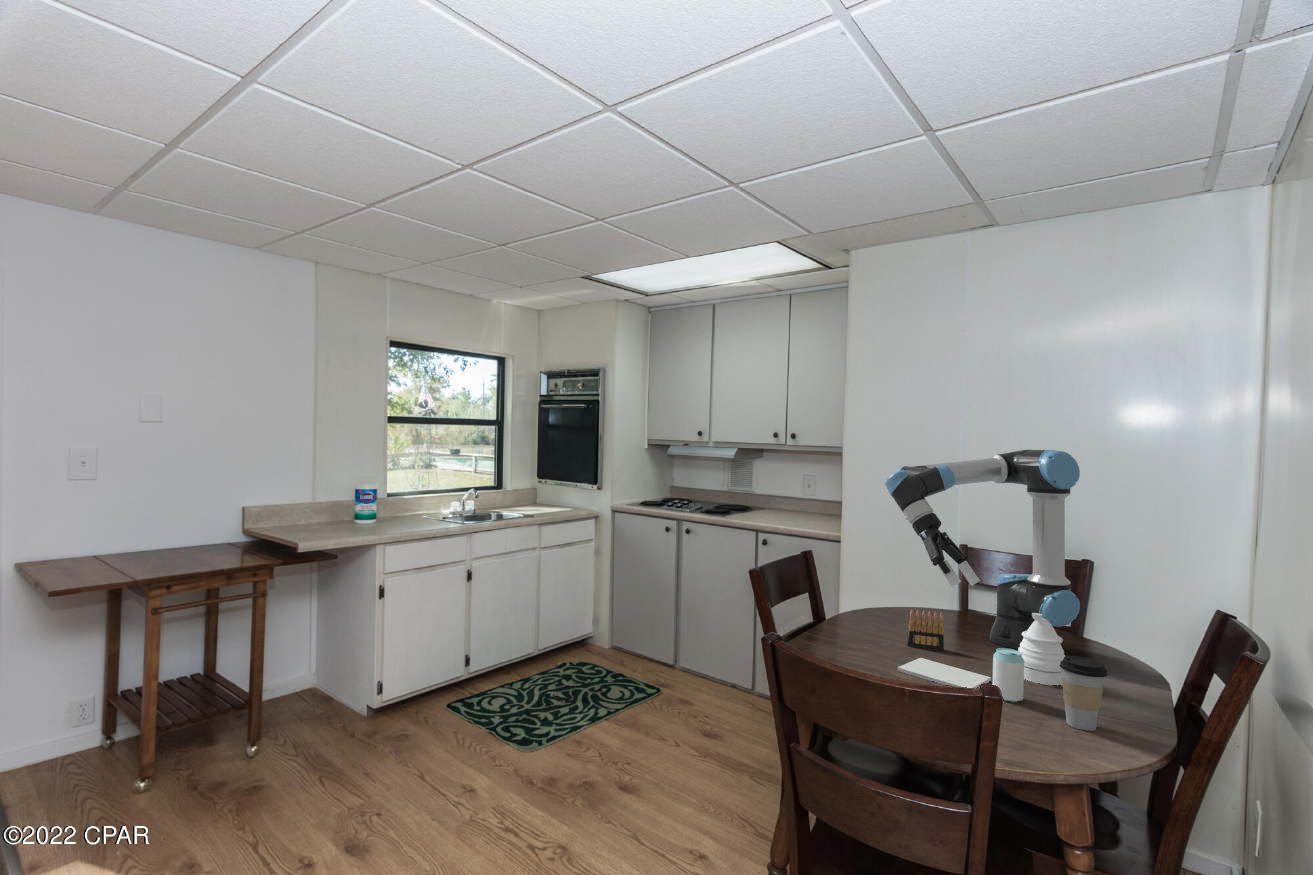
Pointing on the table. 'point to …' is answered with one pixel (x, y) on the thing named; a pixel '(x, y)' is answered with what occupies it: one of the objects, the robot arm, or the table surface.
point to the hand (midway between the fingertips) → (966, 583)
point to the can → (1009, 673)
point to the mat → (943, 673)
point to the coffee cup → (1082, 691)
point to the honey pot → (1042, 653)
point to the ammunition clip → (926, 631)
